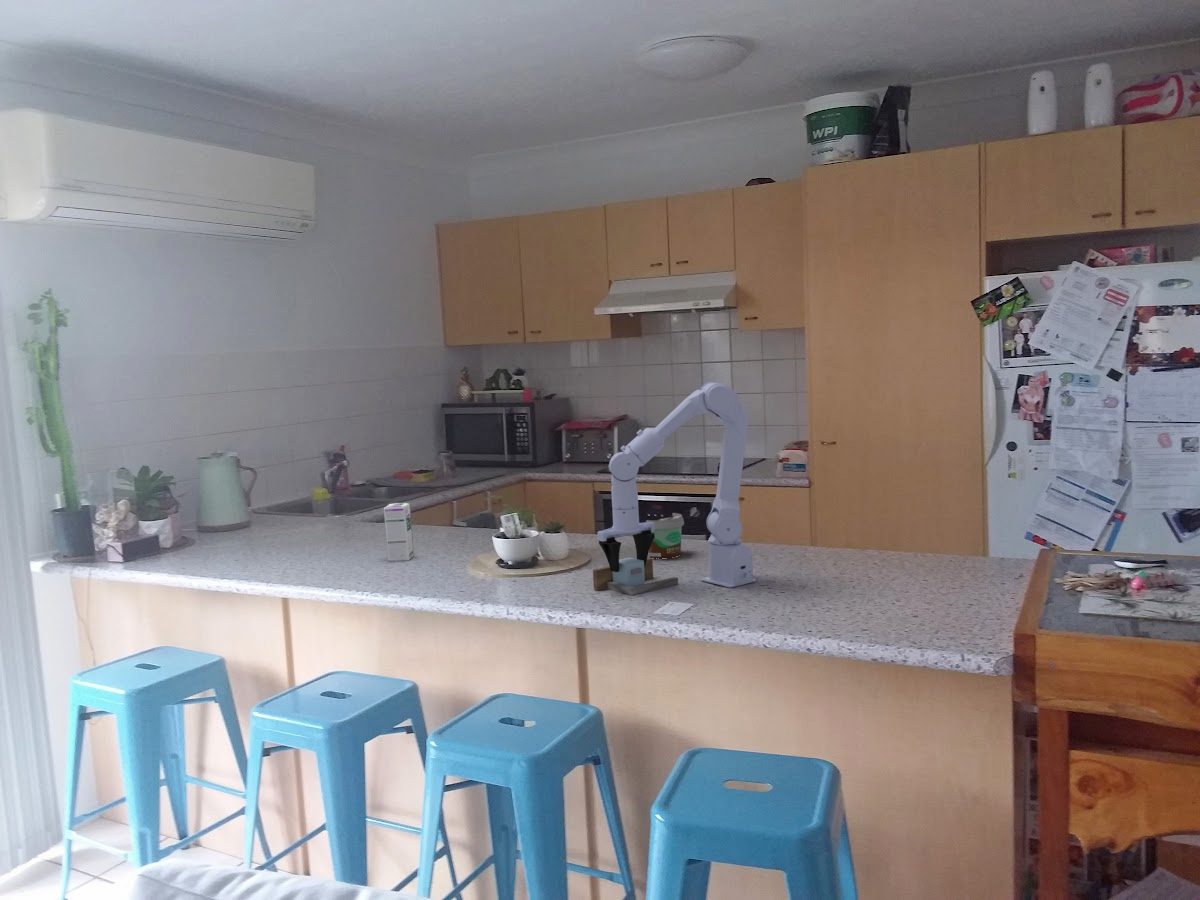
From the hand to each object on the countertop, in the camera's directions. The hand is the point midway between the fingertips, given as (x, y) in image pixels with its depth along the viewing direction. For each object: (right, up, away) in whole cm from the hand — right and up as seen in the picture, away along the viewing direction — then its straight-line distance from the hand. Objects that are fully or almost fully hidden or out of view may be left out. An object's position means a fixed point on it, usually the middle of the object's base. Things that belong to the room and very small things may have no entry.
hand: (628, 568), depth 209 cm
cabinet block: (0, -4, 0) cm, 4 cm away
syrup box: (-59, -3, +42) cm, 72 cm away
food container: (+12, -1, +29) cm, 31 cm away
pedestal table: (+2, -4, +1) cm, 5 cm away
